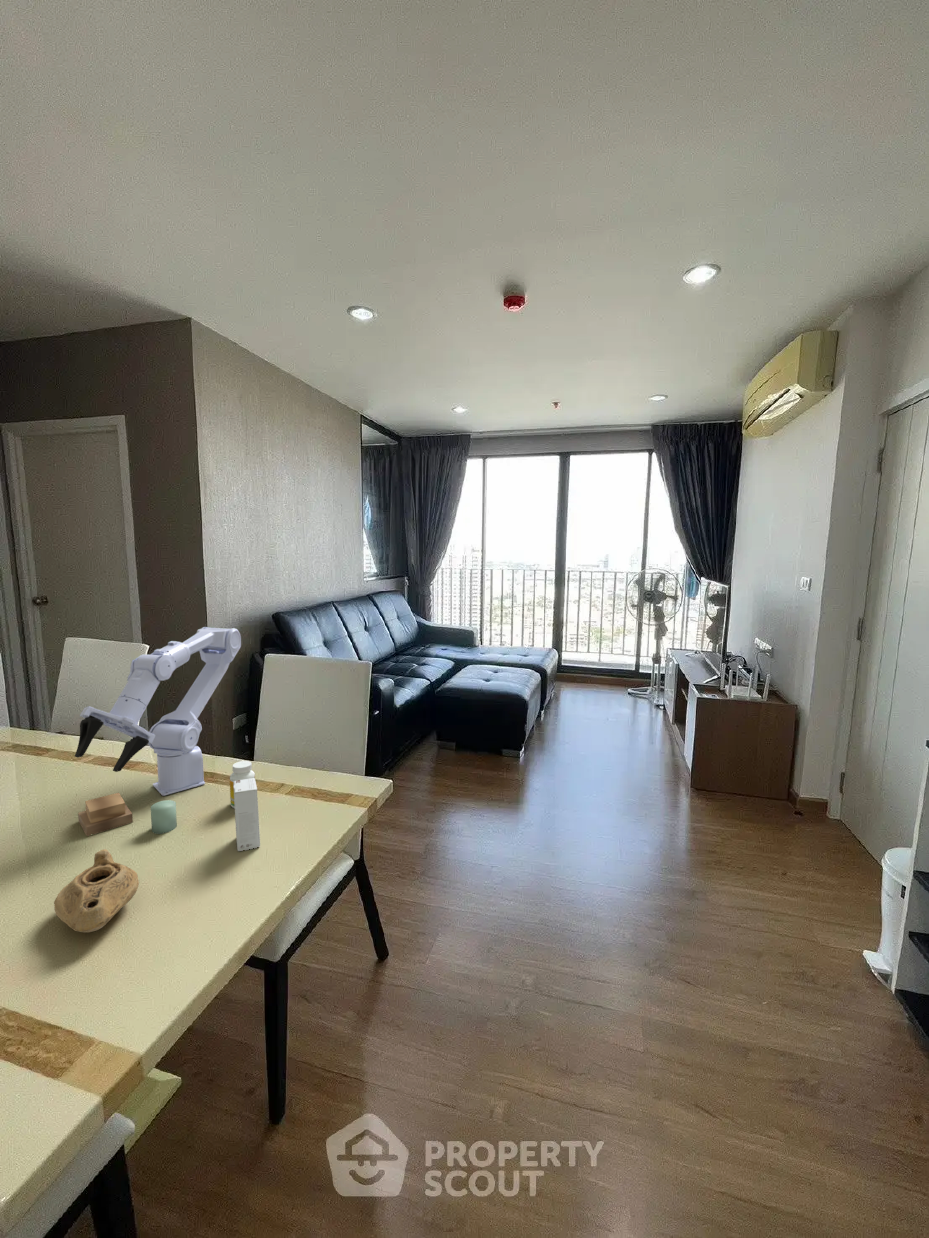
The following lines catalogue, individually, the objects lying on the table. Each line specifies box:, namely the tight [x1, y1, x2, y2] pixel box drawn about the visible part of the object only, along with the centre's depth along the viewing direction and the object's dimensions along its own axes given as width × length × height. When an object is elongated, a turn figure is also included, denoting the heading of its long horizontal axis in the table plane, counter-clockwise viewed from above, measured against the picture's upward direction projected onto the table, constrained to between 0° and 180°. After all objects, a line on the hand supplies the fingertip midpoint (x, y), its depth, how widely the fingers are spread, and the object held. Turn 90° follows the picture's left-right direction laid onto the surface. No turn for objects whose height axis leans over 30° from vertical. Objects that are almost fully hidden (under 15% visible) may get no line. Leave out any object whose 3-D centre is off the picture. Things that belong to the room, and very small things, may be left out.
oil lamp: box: [53, 848, 140, 933], centre depth 80 cm, size 11×15×8 cm
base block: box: [77, 803, 134, 837], centre depth 108 cm, size 8×8×2 cm
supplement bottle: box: [229, 760, 256, 809], centre depth 117 cm, size 5×5×10 cm
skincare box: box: [233, 777, 261, 852], centre depth 102 cm, size 6×4×12 cm
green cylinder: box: [150, 799, 178, 835], centre depth 106 cm, size 4×4×5 cm
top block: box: [84, 792, 126, 823], centre depth 108 cm, size 6×6×2 cm
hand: (97, 763), depth 102 cm, fingers open, 7 cm apart
